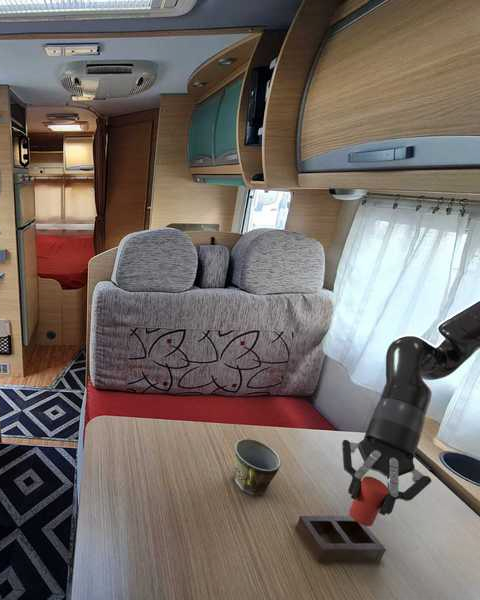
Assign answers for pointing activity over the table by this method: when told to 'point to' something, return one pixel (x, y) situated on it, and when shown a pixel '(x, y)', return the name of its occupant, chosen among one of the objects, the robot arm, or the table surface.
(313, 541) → the two-compartment tray
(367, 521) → the red cylinder
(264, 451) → the ceramic cup
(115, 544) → the table surface
